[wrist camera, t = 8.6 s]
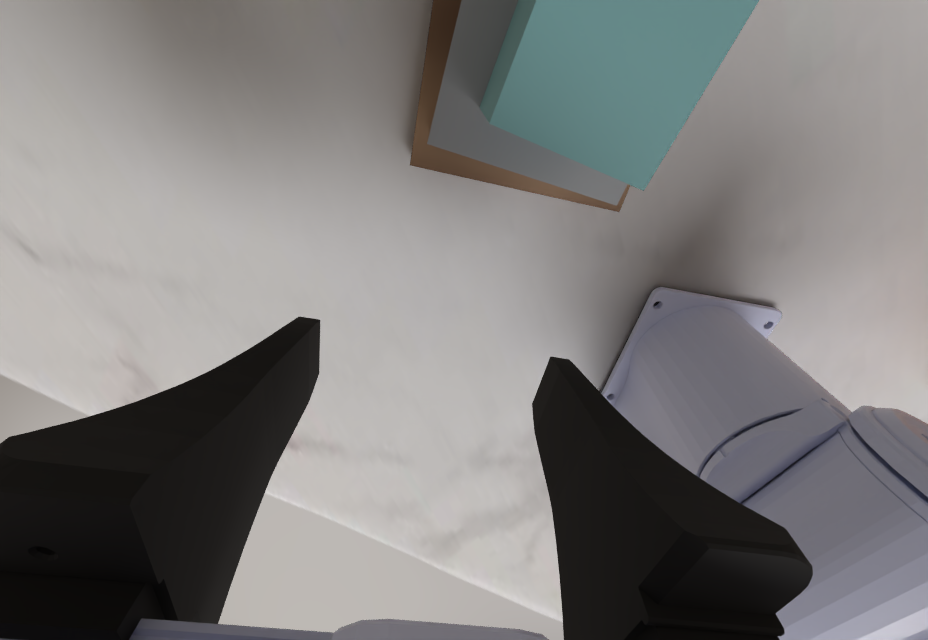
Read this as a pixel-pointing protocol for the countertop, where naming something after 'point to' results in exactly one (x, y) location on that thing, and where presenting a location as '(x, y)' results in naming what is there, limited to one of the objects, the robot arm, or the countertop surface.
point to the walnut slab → (453, 163)
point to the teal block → (609, 76)
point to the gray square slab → (468, 128)
